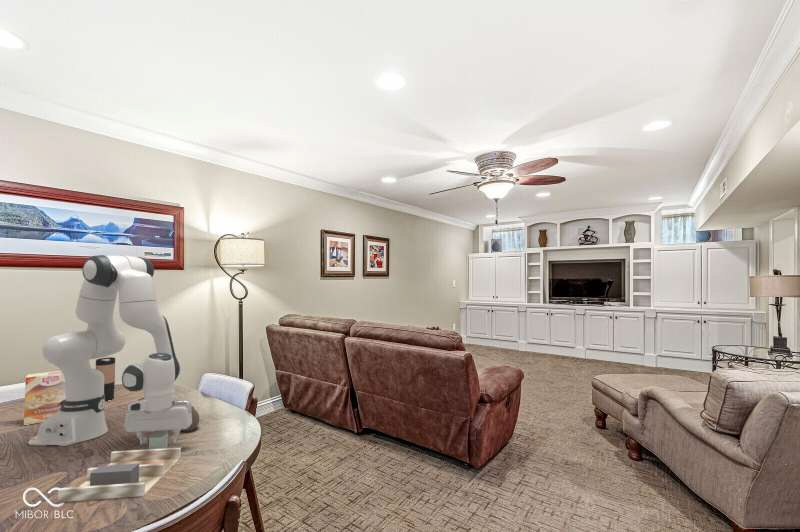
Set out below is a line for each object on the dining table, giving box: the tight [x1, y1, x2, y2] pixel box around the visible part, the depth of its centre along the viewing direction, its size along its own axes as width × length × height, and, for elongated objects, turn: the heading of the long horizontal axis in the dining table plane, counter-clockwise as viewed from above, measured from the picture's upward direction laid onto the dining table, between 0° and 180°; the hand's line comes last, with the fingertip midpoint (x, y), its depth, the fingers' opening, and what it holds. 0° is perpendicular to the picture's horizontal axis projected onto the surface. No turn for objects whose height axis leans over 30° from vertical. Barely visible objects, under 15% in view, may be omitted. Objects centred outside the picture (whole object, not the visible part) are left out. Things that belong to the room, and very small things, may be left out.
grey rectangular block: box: [148, 430, 169, 449], centre depth 127 cm, size 4×4×6 cm
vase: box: [181, 405, 200, 433], centre depth 144 cm, size 7×7×9 cm
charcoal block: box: [90, 464, 139, 486], centre depth 102 cm, size 10×4×5 cm, turn 97°
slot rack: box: [57, 447, 182, 503], centre depth 107 cm, size 20×22×4 cm
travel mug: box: [95, 357, 116, 402], centre depth 182 cm, size 8×8×20 cm
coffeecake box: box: [23, 370, 66, 426], centre depth 156 cm, size 15×7×20 cm, turn 131°
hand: (158, 443), depth 127 cm, fingers open, 8 cm apart
